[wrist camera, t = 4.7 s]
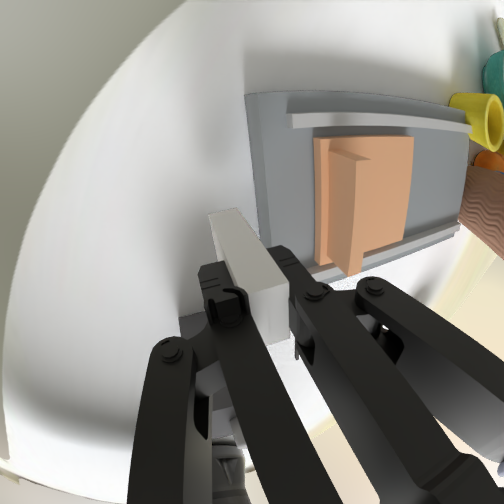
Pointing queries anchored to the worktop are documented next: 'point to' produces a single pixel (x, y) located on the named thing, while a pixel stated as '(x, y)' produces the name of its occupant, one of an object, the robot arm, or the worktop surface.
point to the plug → (222, 404)
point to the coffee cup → (484, 206)
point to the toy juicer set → (487, 111)
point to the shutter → (360, 195)
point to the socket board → (352, 123)
